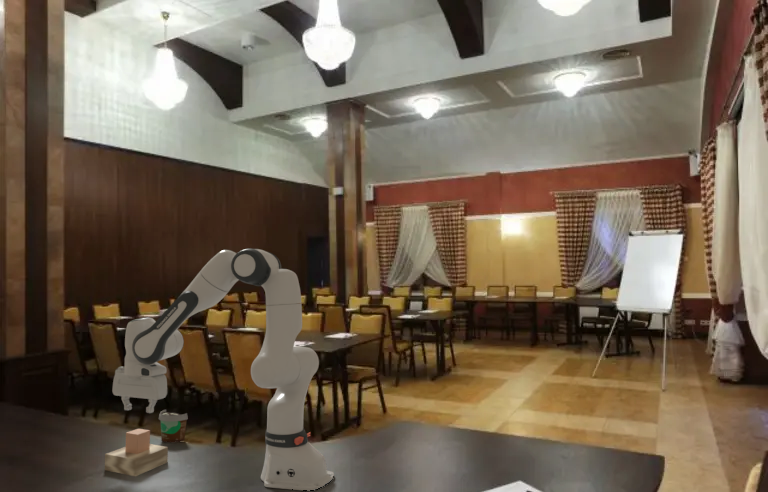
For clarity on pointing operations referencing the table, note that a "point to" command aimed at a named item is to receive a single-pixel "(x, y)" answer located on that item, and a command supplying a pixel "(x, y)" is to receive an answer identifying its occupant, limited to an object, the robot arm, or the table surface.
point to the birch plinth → (136, 460)
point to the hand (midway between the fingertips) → (138, 411)
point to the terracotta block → (137, 441)
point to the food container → (172, 426)
